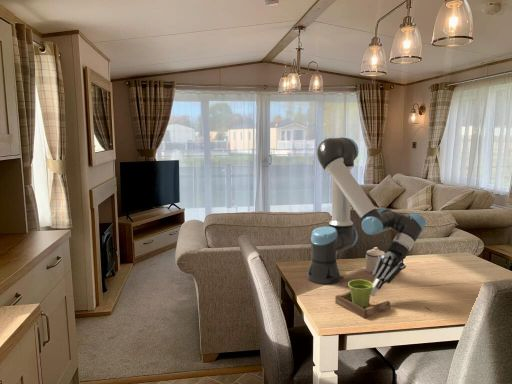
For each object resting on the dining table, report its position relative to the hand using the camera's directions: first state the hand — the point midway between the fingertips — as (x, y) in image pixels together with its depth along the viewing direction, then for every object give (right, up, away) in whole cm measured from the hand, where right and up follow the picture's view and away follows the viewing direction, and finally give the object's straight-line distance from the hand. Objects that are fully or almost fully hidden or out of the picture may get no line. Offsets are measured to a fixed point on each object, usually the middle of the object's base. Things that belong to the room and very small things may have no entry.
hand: (371, 294), depth 157 cm
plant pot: (-4, -4, 0) cm, 6 cm away
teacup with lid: (+12, +2, +39) cm, 41 cm away
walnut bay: (-4, -4, -1) cm, 6 cm away
